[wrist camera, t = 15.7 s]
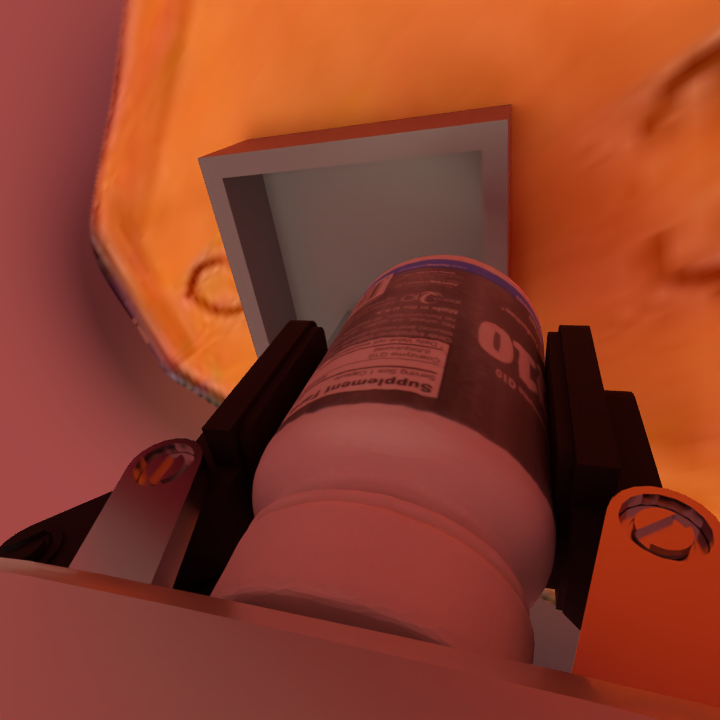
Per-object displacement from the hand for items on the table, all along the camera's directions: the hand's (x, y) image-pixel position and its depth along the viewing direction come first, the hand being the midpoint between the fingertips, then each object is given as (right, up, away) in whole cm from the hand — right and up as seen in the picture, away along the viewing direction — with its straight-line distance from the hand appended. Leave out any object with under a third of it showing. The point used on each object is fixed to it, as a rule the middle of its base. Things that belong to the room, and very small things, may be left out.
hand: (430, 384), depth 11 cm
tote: (0, +5, +19) cm, 19 cm away
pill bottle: (+1, +1, +2) cm, 2 cm away
